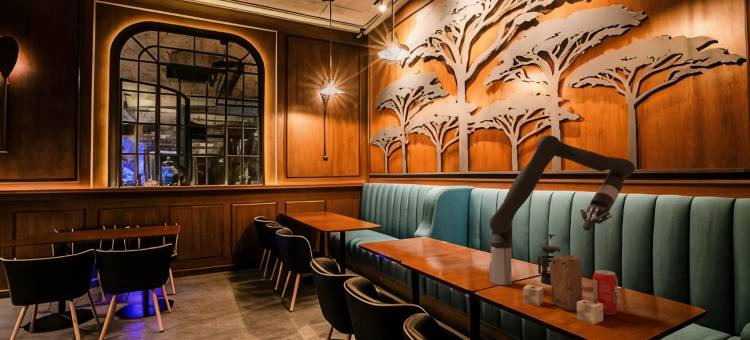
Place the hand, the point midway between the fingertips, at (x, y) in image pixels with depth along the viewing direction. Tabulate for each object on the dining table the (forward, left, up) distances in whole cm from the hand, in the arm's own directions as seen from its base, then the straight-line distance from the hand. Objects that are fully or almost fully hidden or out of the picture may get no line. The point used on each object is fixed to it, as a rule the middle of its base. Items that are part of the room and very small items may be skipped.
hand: (585, 229), depth 149 cm
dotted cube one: (-14, -16, -30) cm, 37 cm away
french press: (-22, +16, -30) cm, 40 cm away
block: (-3, -12, -30) cm, 32 cm away
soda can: (+9, -6, -30) cm, 32 cm away
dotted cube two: (+8, -18, -30) cm, 36 cm away
